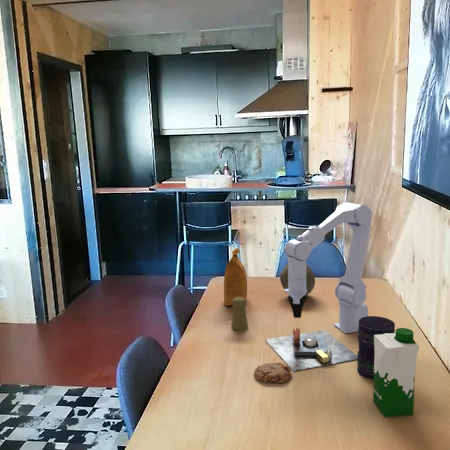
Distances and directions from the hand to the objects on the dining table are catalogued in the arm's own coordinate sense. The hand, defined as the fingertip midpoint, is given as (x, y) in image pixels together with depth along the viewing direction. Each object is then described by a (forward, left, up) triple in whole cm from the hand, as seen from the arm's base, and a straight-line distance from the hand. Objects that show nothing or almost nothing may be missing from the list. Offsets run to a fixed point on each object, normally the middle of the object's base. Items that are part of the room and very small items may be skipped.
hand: (297, 317), depth 147 cm
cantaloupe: (-19, -39, -9) cm, 44 cm away
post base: (-2, +6, -9) cm, 11 cm away
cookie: (+16, +17, -9) cm, 25 cm away
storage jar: (-12, +25, -9) cm, 29 cm away
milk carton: (-6, +41, -9) cm, 43 cm away
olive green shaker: (+14, -18, -9) cm, 24 cm away
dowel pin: (-3, +15, -9) cm, 17 cm away
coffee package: (+7, -43, -9) cm, 45 cm away
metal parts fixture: (-1, +8, -8) cm, 12 cm away
